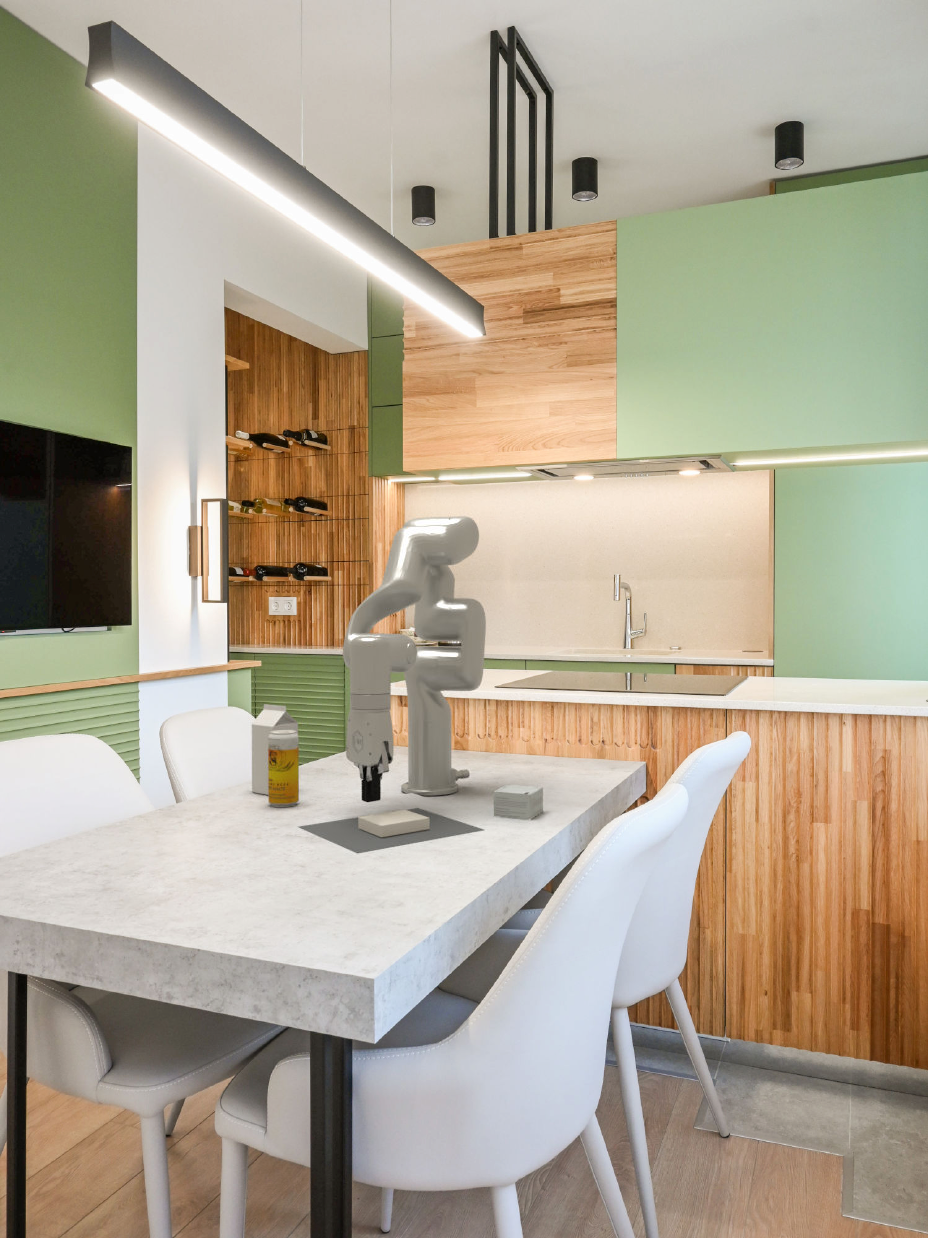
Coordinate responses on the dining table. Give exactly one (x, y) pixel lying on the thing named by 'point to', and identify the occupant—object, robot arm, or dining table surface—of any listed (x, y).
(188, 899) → the dining table surface
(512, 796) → the small box
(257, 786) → the milk carton
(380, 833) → the tile
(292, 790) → the beer can
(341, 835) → the mat
